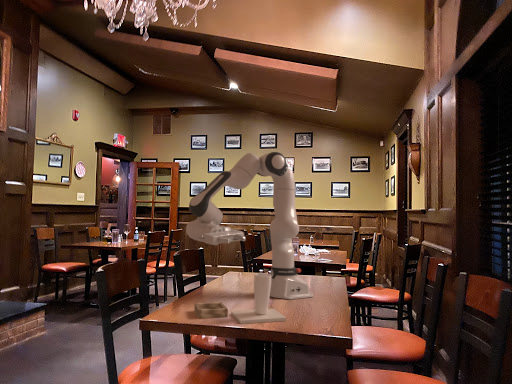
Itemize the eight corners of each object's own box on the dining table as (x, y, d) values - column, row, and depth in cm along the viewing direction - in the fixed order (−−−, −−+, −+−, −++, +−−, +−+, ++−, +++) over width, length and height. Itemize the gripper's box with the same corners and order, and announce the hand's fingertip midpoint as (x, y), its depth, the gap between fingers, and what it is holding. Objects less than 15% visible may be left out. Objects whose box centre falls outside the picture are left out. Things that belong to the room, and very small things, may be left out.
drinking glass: (251, 310, 150) (253, 272, 150) (268, 310, 150) (270, 273, 151) (253, 315, 143) (255, 276, 143) (270, 315, 144) (272, 276, 144)
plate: (273, 311, 155) (273, 308, 155) (286, 320, 141) (286, 317, 141) (231, 313, 149) (231, 310, 149) (240, 324, 136) (240, 320, 136)
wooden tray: (221, 309, 156) (221, 302, 156) (227, 316, 145) (227, 308, 145) (194, 311, 153) (194, 303, 153) (198, 318, 142) (198, 310, 142)
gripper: (196, 229, 157) (219, 235, 148) (230, 226, 173) (253, 230, 164) (195, 244, 157) (218, 250, 149) (229, 239, 173) (252, 245, 164)
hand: (237, 240), depth 156 cm, fingers open, 8 cm apart
